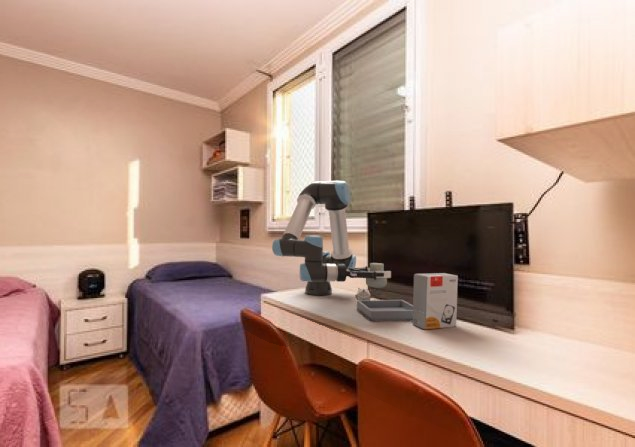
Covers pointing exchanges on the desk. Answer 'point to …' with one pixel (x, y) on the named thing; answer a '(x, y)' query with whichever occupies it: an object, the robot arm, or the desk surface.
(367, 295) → the game die
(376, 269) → the air freshener
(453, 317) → the hard drive box
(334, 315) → the desk surface
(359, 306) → the tray
